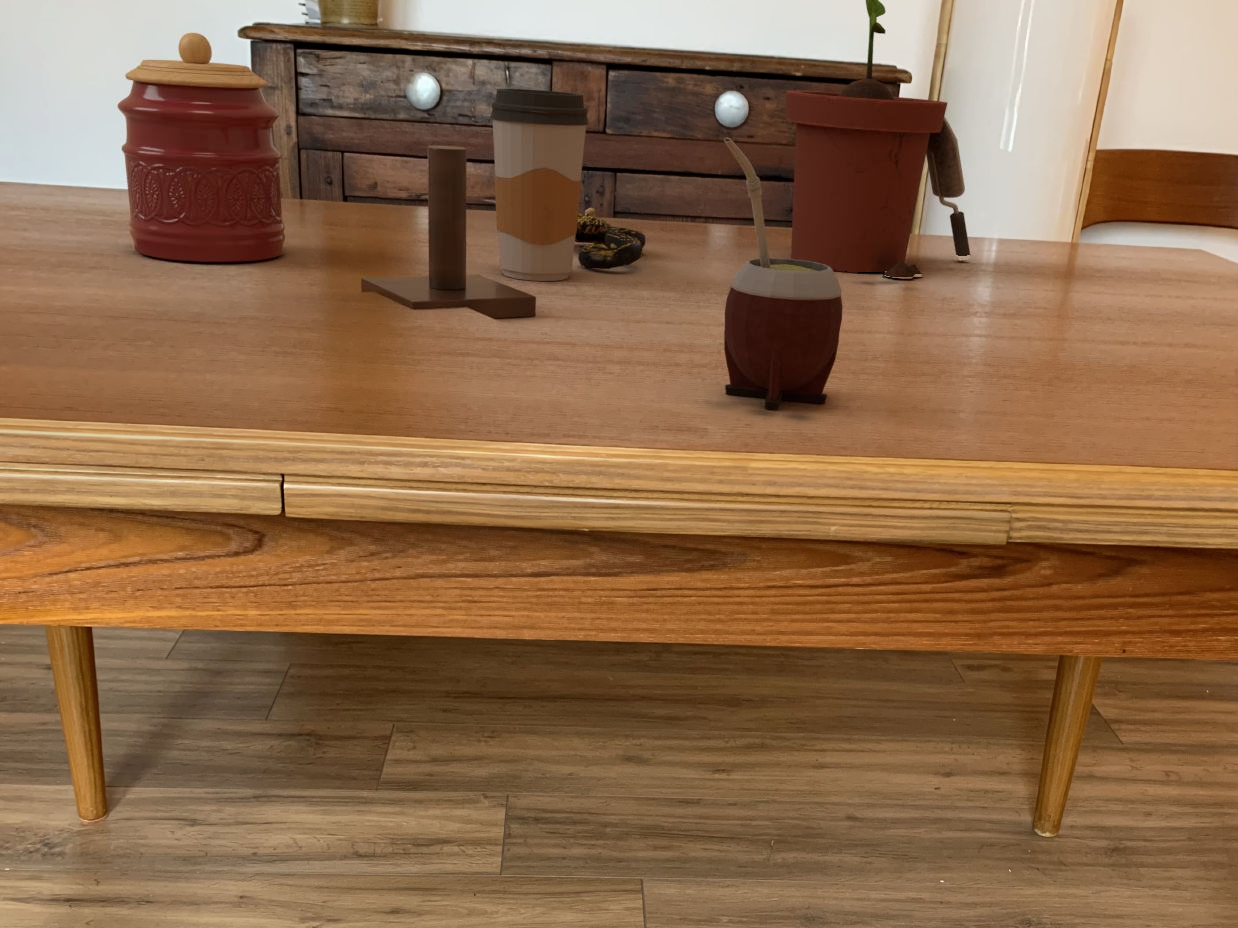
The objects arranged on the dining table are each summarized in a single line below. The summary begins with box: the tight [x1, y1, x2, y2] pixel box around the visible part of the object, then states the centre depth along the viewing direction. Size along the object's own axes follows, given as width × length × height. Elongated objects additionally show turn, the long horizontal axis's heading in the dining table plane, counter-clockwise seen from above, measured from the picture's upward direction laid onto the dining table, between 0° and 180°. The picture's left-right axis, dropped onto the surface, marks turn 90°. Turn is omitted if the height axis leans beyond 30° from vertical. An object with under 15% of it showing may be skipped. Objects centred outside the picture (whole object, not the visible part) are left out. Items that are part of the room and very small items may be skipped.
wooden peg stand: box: [360, 145, 537, 319], centre depth 101 cm, size 10×10×12 cm
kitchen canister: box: [117, 32, 286, 263], centre depth 115 cm, size 13×13×18 cm
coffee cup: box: [490, 88, 589, 282], centre depth 116 cm, size 8×8×15 cm
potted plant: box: [785, 0, 971, 280], centre depth 133 cm, size 18×22×25 cm
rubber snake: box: [575, 207, 646, 270], centre depth 130 cm, size 18×5×10 cm
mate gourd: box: [723, 136, 843, 411], centre depth 80 cm, size 8×8×15 cm
